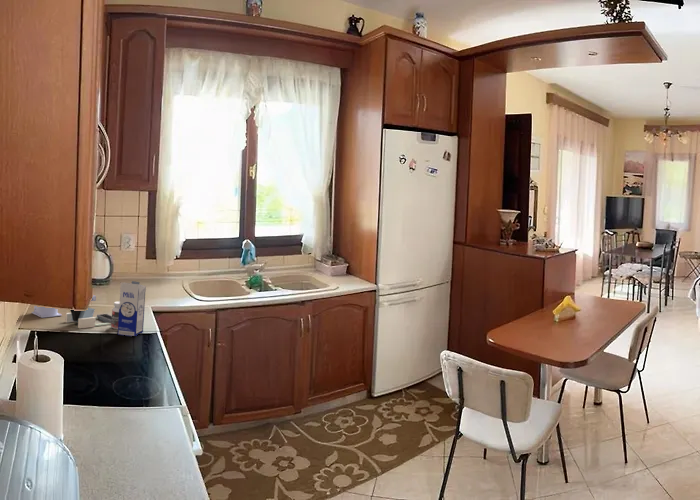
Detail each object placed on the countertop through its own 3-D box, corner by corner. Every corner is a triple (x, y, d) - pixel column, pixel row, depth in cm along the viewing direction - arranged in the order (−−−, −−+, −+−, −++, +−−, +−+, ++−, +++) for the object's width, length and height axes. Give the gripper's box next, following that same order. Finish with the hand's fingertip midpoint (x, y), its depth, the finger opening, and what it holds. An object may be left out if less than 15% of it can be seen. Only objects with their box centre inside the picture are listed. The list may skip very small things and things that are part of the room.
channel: (65, 321, 226) (65, 313, 225) (96, 318, 235) (96, 310, 235) (79, 328, 219) (79, 319, 218) (110, 324, 228) (111, 315, 228)
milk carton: (117, 334, 215) (120, 281, 213) (125, 330, 222) (128, 279, 220) (135, 337, 215) (138, 283, 213) (143, 332, 222) (146, 281, 220)
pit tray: (96, 318, 235) (97, 314, 235) (106, 317, 238) (106, 313, 238) (110, 324, 229) (110, 320, 228) (119, 323, 232) (120, 319, 232)
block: (71, 320, 223) (75, 305, 225) (80, 322, 228) (84, 307, 229) (81, 322, 222) (86, 306, 223) (90, 324, 227) (94, 309, 228)
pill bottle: (107, 327, 224) (109, 302, 223) (117, 325, 229) (119, 300, 228) (120, 330, 222) (121, 304, 221) (130, 327, 227) (131, 302, 226)
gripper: (62, 288, 213) (60, 324, 214) (100, 286, 224) (98, 320, 225) (53, 285, 218) (52, 321, 219) (91, 283, 229) (90, 317, 230)
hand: (75, 320), depth 222 cm, fingers closed, pressing on block
